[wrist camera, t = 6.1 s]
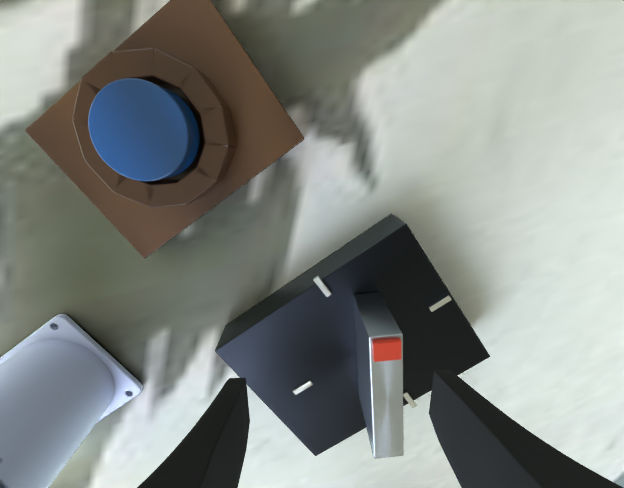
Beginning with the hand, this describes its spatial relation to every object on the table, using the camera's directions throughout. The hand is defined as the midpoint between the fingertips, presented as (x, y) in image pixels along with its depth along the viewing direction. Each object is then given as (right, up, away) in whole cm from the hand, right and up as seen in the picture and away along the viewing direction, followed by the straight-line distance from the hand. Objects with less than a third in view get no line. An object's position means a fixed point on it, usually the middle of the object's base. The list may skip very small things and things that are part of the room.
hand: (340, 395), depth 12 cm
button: (-9, +11, +4) cm, 15 cm away
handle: (+2, -1, +8) cm, 8 cm away
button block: (-9, +12, +7) cm, 17 cm away
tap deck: (+2, 0, +11) cm, 11 cm away
